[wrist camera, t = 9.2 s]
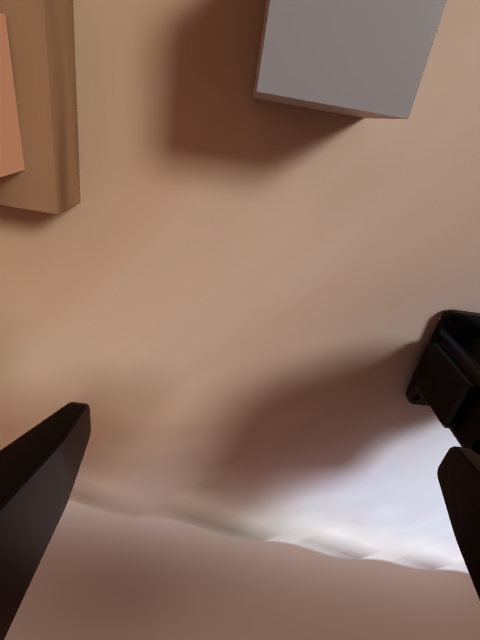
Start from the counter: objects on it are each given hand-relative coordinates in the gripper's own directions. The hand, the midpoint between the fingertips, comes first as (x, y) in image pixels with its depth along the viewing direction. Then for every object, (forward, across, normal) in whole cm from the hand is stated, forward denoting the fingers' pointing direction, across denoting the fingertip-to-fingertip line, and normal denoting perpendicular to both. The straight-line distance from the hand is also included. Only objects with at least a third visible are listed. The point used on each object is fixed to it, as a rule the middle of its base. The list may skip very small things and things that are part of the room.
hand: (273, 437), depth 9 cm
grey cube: (+12, -1, -10) cm, 16 cm away
